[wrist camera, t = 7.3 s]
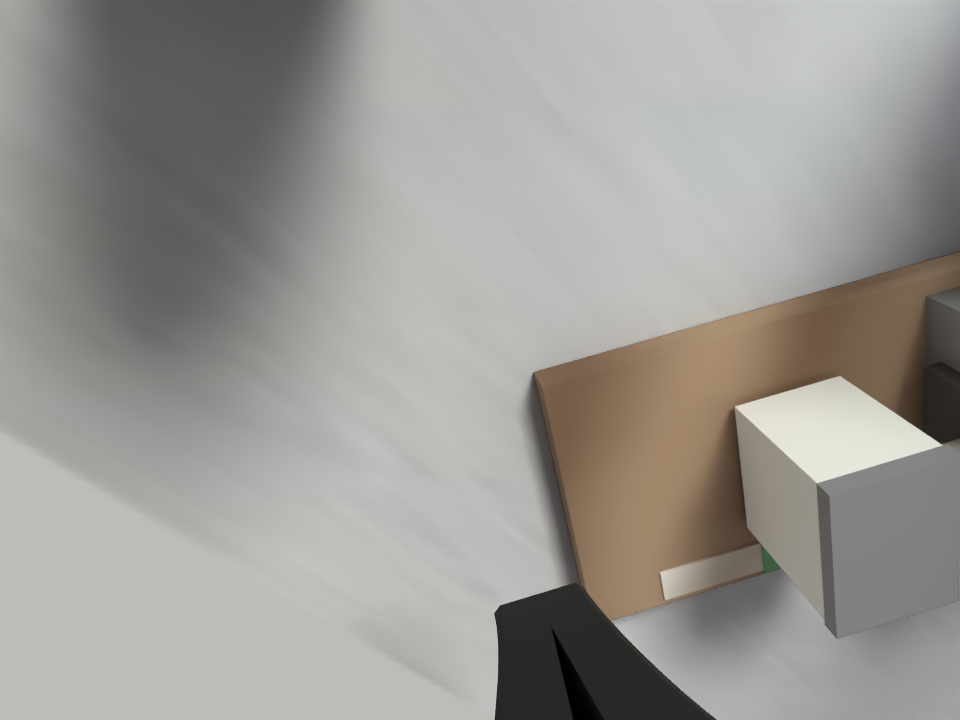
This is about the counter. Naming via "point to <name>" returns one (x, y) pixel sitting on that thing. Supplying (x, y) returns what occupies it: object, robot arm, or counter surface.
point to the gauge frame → (729, 424)
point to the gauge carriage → (851, 503)
